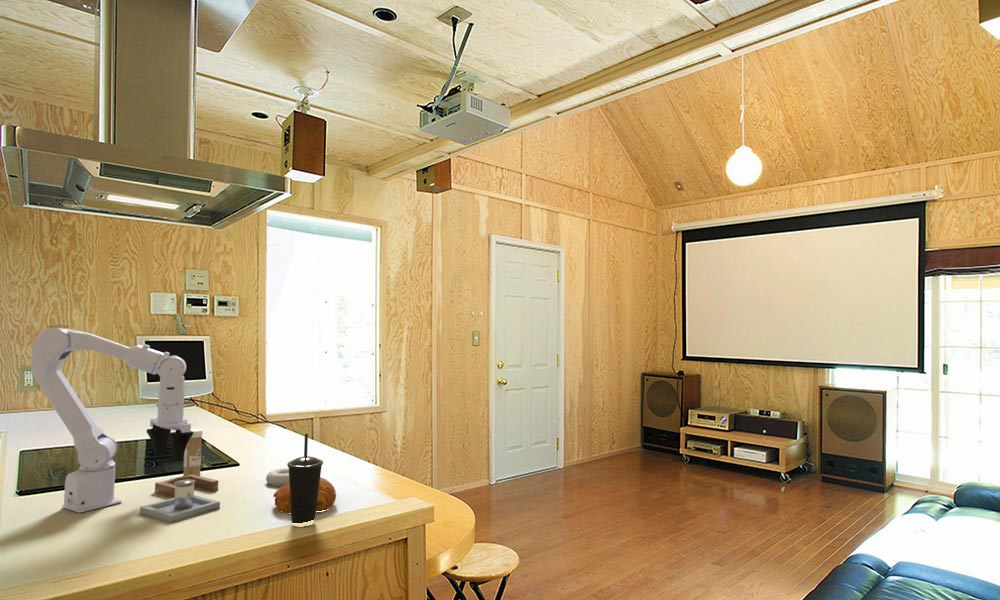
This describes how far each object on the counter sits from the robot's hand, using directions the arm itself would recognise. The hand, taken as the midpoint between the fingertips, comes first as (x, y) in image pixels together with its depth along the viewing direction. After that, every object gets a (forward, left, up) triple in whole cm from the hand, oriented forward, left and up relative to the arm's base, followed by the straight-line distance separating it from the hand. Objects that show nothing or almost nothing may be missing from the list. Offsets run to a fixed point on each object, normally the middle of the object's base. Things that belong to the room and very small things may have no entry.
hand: (168, 458), depth 145 cm
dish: (-4, -12, -10) cm, 16 cm away
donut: (+26, -13, -10) cm, 31 cm away
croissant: (+14, -33, -10) cm, 38 cm away
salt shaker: (-3, -12, -10) cm, 15 cm away
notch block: (+6, +1, -10) cm, 12 cm away
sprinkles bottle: (+15, +13, -10) cm, 23 cm away
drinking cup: (+5, -43, -10) cm, 44 cm away
